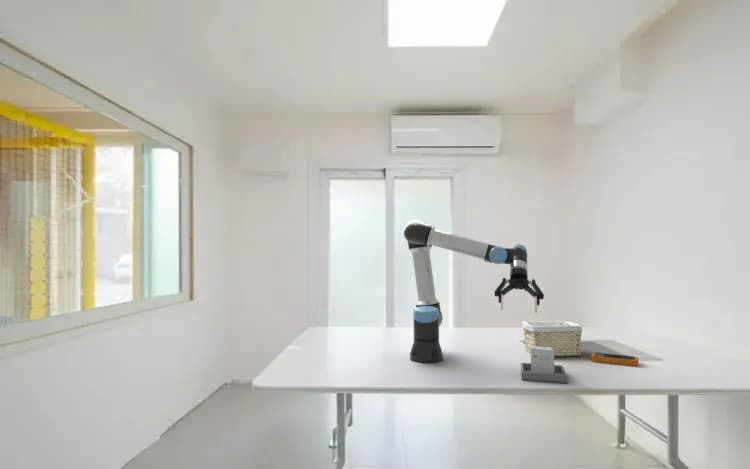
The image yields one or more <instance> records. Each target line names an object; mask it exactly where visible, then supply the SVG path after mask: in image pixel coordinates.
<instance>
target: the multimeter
mask: <svg viewBox="0 0 750 469" xmlns="http://www.w3.org/2000/svg"><path fill="white" fill-rule="evenodd" d="M591 361H592V362H593V363H599V364H600V363H601V364H610V365H616V364H617V365H618V366H624V365H626V367H632V368H633V367H638V366H639V357H637V356H634V355H633V356H632V355H623V354H613V353H604V352H597V351H593V352H592V353H591Z"/></svg>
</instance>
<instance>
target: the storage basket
mask: <svg viewBox="0 0 750 469" xmlns="http://www.w3.org/2000/svg"><path fill="white" fill-rule="evenodd" d="M521 322H522V323H521V327H522V329H523V330H522V331H523V337H524V344H525V346H524V347H525V351H526V352H528V353H529V354H531V348H532V347H533V346H540V347H551V348H554V357H571V356H573V357H574V356H581V349H582V348H581V347H582V346H581V344H582V332H583V329H582V327H583V326H582V325H581V324H578V323H577V322H573V321H568V320H523V321H521Z"/></svg>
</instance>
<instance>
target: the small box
mask: <svg viewBox="0 0 750 469" xmlns="http://www.w3.org/2000/svg"><path fill="white" fill-rule="evenodd" d="M530 363H531V372H534V373H547V374H555V371H554V365H555V356H554V348H551V347H540V346H533V347H532V348H531V353H530Z"/></svg>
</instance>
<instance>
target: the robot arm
mask: <svg viewBox="0 0 750 469" xmlns="http://www.w3.org/2000/svg"><path fill="white" fill-rule="evenodd" d="M403 236H404V239H405V240H406V241H407V246H408V250H409V251H410V252H411V253H412V259H413V260H412V262H413V269H414V275H415V276H414V277H415V284H416V291H417V292H416V293H417V299H418V301H417V302H416V303H415V308H414V309H413V314H412V317H413V343H412V347H411V349H410V352H409V359H410V360H411V359H412V360H411V361H413V360H414V362H418V363H438V362H441V361H444V352H443V350H442V347H441V344H440V327H441V325H442V323H443V312H442V311H441V304H440V301H439V300H438V299H437V296H436V291H435V282H434V281H435V280H434V275H433V269H432V268H433V267H432V266H433V265H432V261H431V254H430V253H431V252H430V250H431V249H432V248H433V246H434V247H437V248H441V249H444V250H448V251H452V252H455V253H459V254H462V255H465V256H469V257H473V258H475V259H476V258H477V259H480V260H483V261H484V262H485V263H490V264H492V263H493V264H495V265H500V264H503V265H509V266H510V267H509V269H510V270H509V271H510V272H509V279H507V278H506V277H503V278H502V280H501V282H500V284H499V285H498V286H497V288H496V289H495V290H494V297H497V298H498V303H499V304H500V311H503V310H504V296H505V295H506V294H508V293H509V292H511V291H512V290H524V291H525V292H527V293H528V294H530V296H532V297H533V298H534V300H533V302H534V313H535V314H536V313H537V312H538V306H539V307H540V304H541V303H540V300H544V298H545V294H544V293H543V291H542V290H541V289H540V287H539V286H538V284H537V282H536V279H534V278H533V279H532V280H529V279H528V252H527V247H525V246H524V245H522V244H519V243H517V244H513V245H512V246H511V247H509V248H506V247H503V246H497V245H493V244H489V243H486V242H483V241H479V240H475V239H472V238H468V237H465V236H461V235H458V234H455V233H451V232H447V231H445V230H440V229H436V228H435V226H434V225H429V224H427V223H425V222H423V221H422V220H419V219H413V220H411V221H409V222H408V223H406V225H405V226H404V229H403ZM507 284H508V285H507Z"/></svg>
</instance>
